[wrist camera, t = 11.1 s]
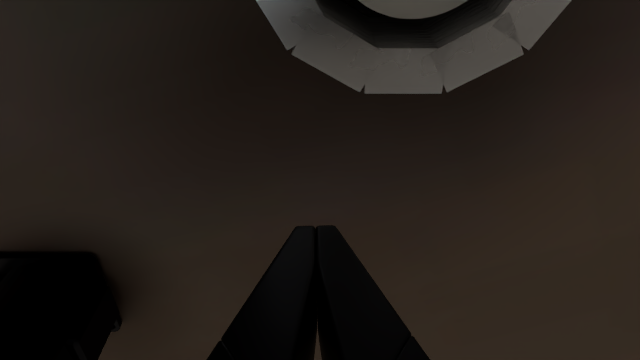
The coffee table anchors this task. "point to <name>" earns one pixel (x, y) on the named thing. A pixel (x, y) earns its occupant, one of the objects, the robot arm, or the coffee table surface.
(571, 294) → the coffee table surface
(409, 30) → the grey segmented ring
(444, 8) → the white short cylinder
